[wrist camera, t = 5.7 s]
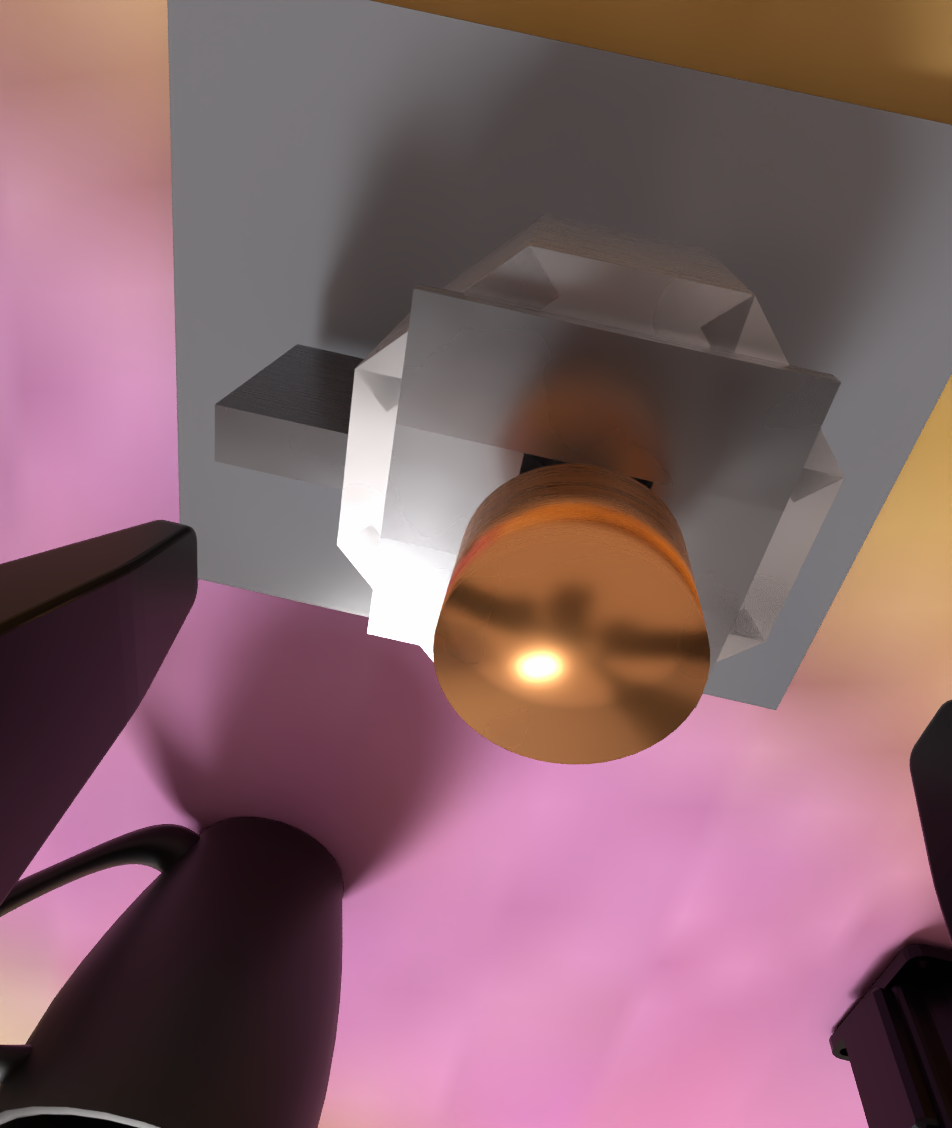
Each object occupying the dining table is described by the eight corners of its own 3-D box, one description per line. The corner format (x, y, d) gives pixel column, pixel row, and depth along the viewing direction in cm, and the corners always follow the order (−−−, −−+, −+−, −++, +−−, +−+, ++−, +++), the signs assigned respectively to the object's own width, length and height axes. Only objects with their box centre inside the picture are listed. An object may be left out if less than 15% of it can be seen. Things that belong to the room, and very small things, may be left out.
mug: (140, 678, 23) (-107, 980, 15) (428, 885, 26) (356, 1228, 18) (27, 797, 26) (-223, 1095, 18) (292, 967, 30) (180, 1284, 22)
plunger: (742, 330, 14) (890, 517, 7) (658, 559, 17) (710, 855, 10) (477, 272, 14) (376, 403, 7) (435, 509, 17) (333, 769, 10)
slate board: (1043, 148, 14) (1068, 149, 13) (770, 690, 20) (775, 710, 19) (187, -35, 14) (165, -44, 13) (194, 559, 20) (181, 574, 20)
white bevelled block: (820, 272, 14) (928, 336, 10) (690, 598, 18) (724, 750, 14) (321, 164, 14) (202, 177, 10) (297, 510, 18) (204, 632, 14)
